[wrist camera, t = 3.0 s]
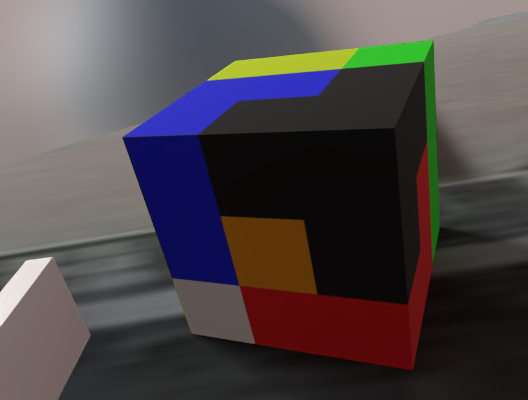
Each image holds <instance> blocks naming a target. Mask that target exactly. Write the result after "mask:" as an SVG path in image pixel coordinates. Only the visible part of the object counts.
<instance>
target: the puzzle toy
mask: <svg viewBox="0 0 528 400" xmlns="http://www.w3.org/2000/svg"><path fill="white" fill-rule="evenodd" d="M122 138H123V141H124V143H125V146H126V149H127V152H128V155H129V158H130V160H131V163H132V166H133V169H134V172H135V175H136V177H137V180H138V183H139V186H140V189H141V192H142V194H143V197H144V200H145V203H146V206H147V209H148V211H149V214H150V217H151V220H152V223H153V226H154V228H155V231H156V234H157V237H158V240H159V243H160V245H161V248H162V251H163V254H164V257H165V260H166V262H167V265H168V268H169V271H170V274H171V277H172V279H173V282H174V285H175V288H176V291H177V294H178V296H179V299H180V302H181V305H182V308H183V311H184V313H185V316H186V319H187V322H188V325H189V328H190V330H191V333H192V334H197V335H203V336H209V337H215V338H221V339H227V340H233V341H239V342H245V343H251V344H257V345H263V346H269V347H275V348H281V349H287V350H293V351H299V352H305V353H312V354H318V355H324V356H330V357H336V358H342V359H348V360H354V361H360V362H366V363H372V364H378V365H384V366H390V367H396V368H402V369H408V370H413V368H414V362H415V357H416V352H417V346H418V341H419V335H420V330H421V325H422V319H423V314H424V309H425V303H426V298H427V293H428V287H429V282H430V276H431V271H432V266H433V260H434V255H435V250H436V244H437V239H438V234H439V228H440V223H439V193H438V162H437V132H436V102H435V72H434V42H433V40H430V41H421V42H412V43H402V44H393V45H383V46H373V47H364V48H354V49H345V50H335V51H327V52H316V53H307V54H298V55H288V56H279V57H270V58H260V59H250V60H241V61H235V62H233V63H232V64H231V65H229V66H227V67H226V68H224V69H223V70H221V71H220V72H218V73H217V74H215V75H214V76H212V77H211V78H210V79H208V80H207V81H205V82H204V83H202V84H201V85H199V86H198V87H196V88H195V89H193V90H192V91H190V92H189V93H187V94H186V95H185V96H183V97H181V98H180V99H178V100H177V101H175V102H174V103H172V104H171V105H169V106H168V107H166V108H165V109H164V110H162V111H161V112H159V113H158V114H156V115H155V116H154V117H152V118H150V119H149V120H147V121H146V122H144V123H143V124H141V125H140V126H138V127H137V128H135V129H134V130H132V131H131V132H129V133H128V134H126V135H125V136H123V137H122Z"/></svg>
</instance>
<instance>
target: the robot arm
mask: <svg viewBox="0 0 528 400" xmlns="http://www.w3.org/2000/svg"><path fill="white" fill-rule="evenodd" d="M90 336H91V335H90V333H89V331H88V329H87V327H86V325H85V322H84V320H83V318H82V316H81V314H80V312H79V310H78V308H77V306H76V304H75V302H74V300H73V298H72V296H71V293H70V291H69V289H68V287H67V285H66V283H65V281H64V279H63V277H62V275H61V273H60V271H59V269H58V267H57V265H56V262H55V260H54V258H53V257H49V258H42V259H35V260H28V261H26V262H25V263H24V264H23V265H22V266H21V268H20V269H19V270H18V271H17V273H16V274H15V275H14V276H13V277H12V279H11V280H10V281H9V282H8V283H7V285H6V286H5V287H4V288H3V290H2V291H1V292H0V400H58V398H59V396H60V394H61V392H62V390H63V388H64V386H65V384H66V382H67V380H68V378H69V376H70V375H71V373H72V371H73V369H74V367H75V365H76V363H77V361H78V359H79V357H80V355H81V353H82V351H83V349H84V347H85V345H86V343H87V341H88V339H89V337H90Z"/></svg>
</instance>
